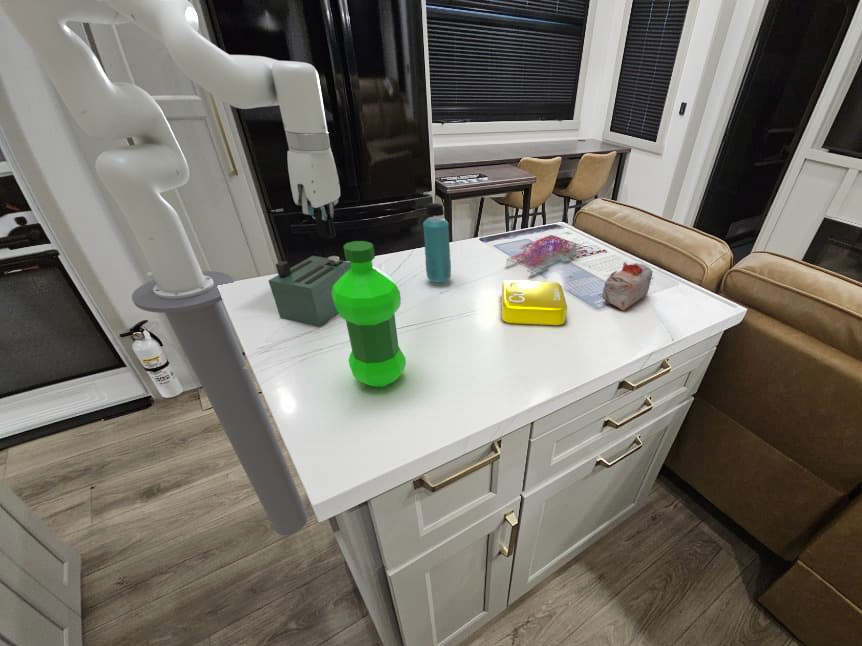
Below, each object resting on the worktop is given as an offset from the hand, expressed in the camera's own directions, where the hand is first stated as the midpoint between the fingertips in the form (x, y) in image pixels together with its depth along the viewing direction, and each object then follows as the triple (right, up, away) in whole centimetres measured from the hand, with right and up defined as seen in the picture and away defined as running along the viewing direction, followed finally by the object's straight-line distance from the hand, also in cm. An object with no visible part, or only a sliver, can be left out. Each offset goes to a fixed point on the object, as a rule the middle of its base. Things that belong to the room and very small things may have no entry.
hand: (327, 236), depth 92 cm
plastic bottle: (+16, -32, -14) cm, 38 cm away
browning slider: (-8, -9, -3) cm, 12 cm away
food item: (+71, -11, +18) cm, 74 cm away
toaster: (-4, -15, +5) cm, 16 cm away
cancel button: (0, -6, +4) cm, 7 cm away
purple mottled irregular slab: (+51, +6, +38) cm, 63 cm away
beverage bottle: (+21, -5, +20) cm, 30 cm away
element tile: (+46, -14, +11) cm, 49 cm away
